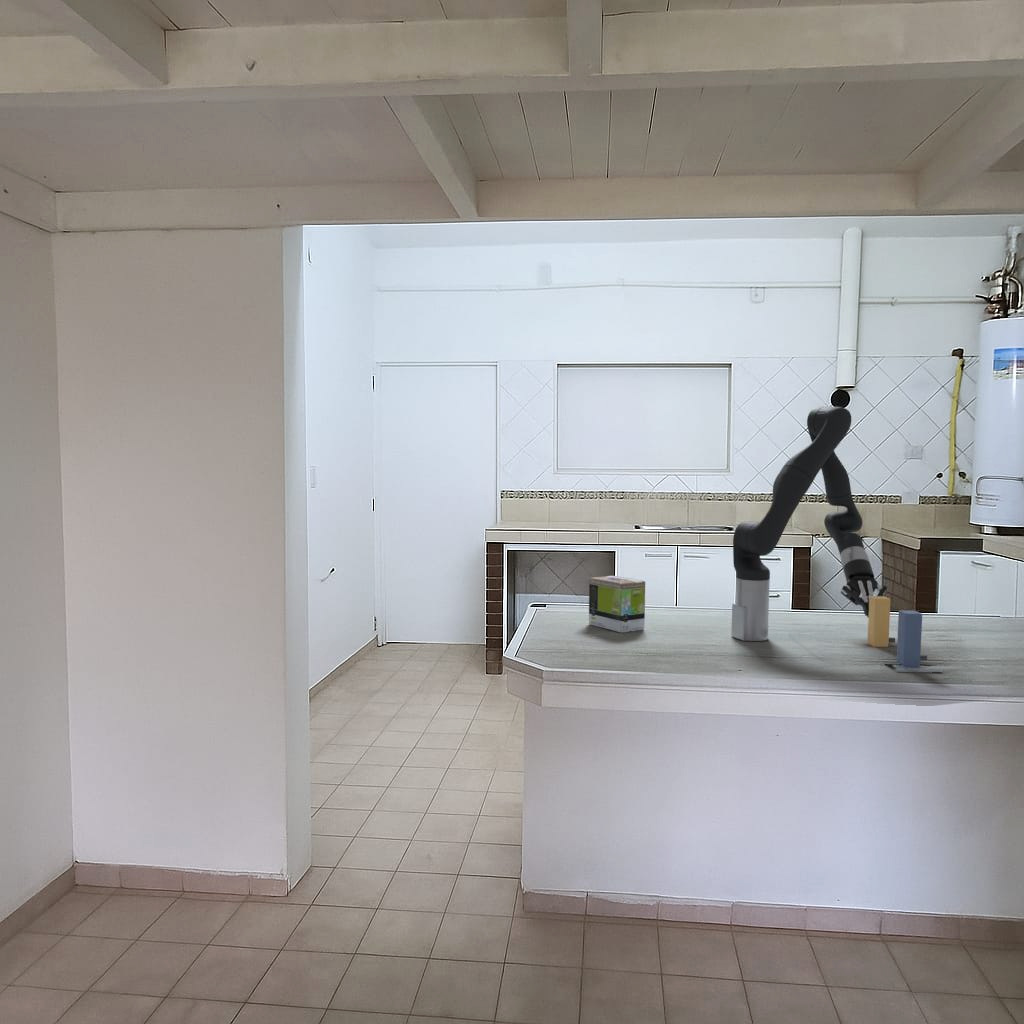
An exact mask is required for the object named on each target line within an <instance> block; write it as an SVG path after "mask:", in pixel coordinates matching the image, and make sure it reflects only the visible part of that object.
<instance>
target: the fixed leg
mask: <svg viewBox="0 0 1024 1024" xmlns="http://www.w3.org/2000/svg"><path fill="white" fill-rule="evenodd" d="M922 627H923V613H921V612H919V611H916V610H898V619H897V642H896V644H897V645H896V662H897V663H898V664H901V665H903V666H920V665H921V661H926V662H927V661H928V655H926V654H921V652H922V650H921V649H922V648H921V647H922V646H921V645H922V632H923V630H922Z"/></svg>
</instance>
